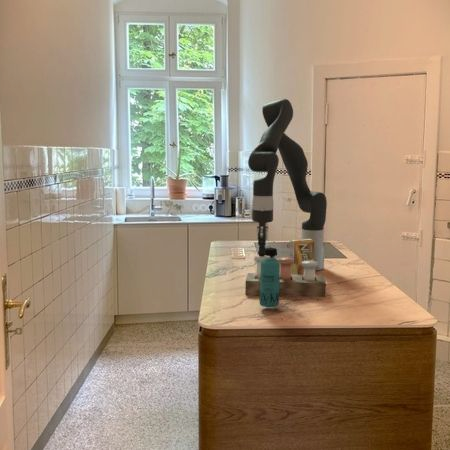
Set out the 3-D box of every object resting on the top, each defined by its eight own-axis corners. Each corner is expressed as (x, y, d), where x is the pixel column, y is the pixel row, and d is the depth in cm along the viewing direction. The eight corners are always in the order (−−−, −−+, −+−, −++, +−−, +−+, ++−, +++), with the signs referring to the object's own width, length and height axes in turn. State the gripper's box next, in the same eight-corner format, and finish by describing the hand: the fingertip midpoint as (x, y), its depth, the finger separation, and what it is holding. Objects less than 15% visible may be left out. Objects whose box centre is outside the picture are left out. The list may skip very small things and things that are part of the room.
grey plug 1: (262, 281, 198) (263, 253, 197) (272, 284, 194) (273, 256, 192) (250, 283, 195) (251, 255, 193) (260, 287, 190) (261, 258, 189)
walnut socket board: (245, 294, 189) (245, 280, 189) (247, 286, 201) (247, 273, 200) (325, 297, 186) (326, 283, 186) (323, 288, 198) (323, 275, 197)
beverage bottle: (257, 306, 175) (258, 246, 172) (277, 306, 176) (278, 246, 173) (260, 312, 169) (261, 250, 166) (281, 312, 169) (282, 250, 166)
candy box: (308, 275, 219) (309, 238, 216) (313, 277, 215) (314, 240, 212) (289, 277, 216) (289, 239, 213) (293, 279, 212) (294, 241, 209)
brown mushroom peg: (285, 284, 197) (286, 256, 196) (296, 287, 193) (296, 259, 191) (274, 286, 194) (274, 258, 193) (284, 290, 190) (285, 261, 188)
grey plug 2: (308, 288, 197) (309, 260, 195) (320, 291, 192) (320, 262, 191) (297, 290, 193) (298, 261, 192) (309, 293, 189) (309, 264, 187)
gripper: (253, 206, 197) (252, 252, 200) (251, 210, 184) (250, 259, 187) (273, 206, 197) (272, 252, 199) (272, 210, 184) (271, 260, 186)
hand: (261, 255), depth 193 cm, fingers closed
